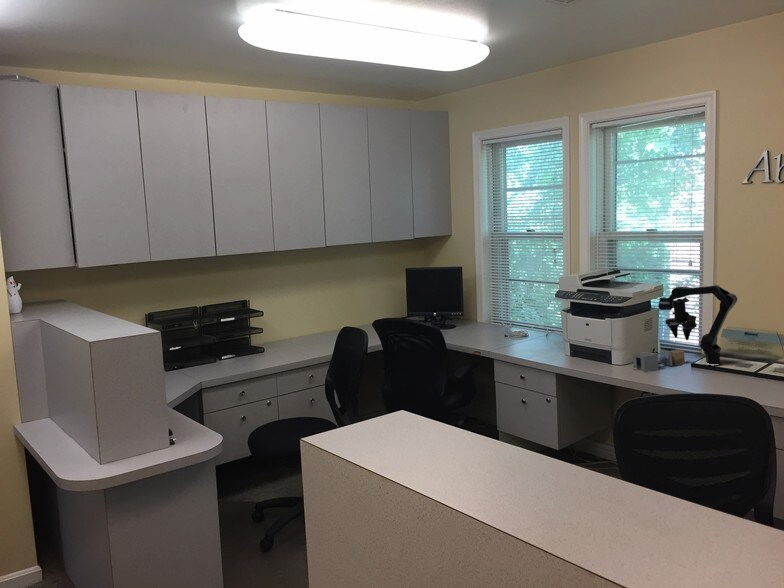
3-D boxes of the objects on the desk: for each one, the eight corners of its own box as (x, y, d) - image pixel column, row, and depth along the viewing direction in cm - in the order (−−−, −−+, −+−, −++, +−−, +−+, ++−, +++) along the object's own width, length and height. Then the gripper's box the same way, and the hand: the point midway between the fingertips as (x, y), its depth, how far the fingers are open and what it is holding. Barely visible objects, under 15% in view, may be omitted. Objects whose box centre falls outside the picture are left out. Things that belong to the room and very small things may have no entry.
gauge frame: (675, 367, 339) (673, 351, 338) (645, 372, 335) (643, 357, 334) (658, 362, 352) (657, 348, 351) (629, 367, 348) (628, 353, 347)
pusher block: (684, 364, 343) (684, 351, 343) (675, 365, 342) (674, 353, 341) (678, 362, 348) (677, 349, 347) (669, 364, 347) (668, 351, 346)
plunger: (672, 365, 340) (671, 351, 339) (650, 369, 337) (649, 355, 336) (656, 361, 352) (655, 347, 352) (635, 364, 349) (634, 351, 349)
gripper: (704, 310, 336) (706, 339, 337) (682, 306, 354) (683, 334, 355) (686, 312, 334) (687, 342, 335) (663, 309, 352) (665, 337, 353)
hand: (681, 338), depth 345 cm, fingers open, 9 cm apart
